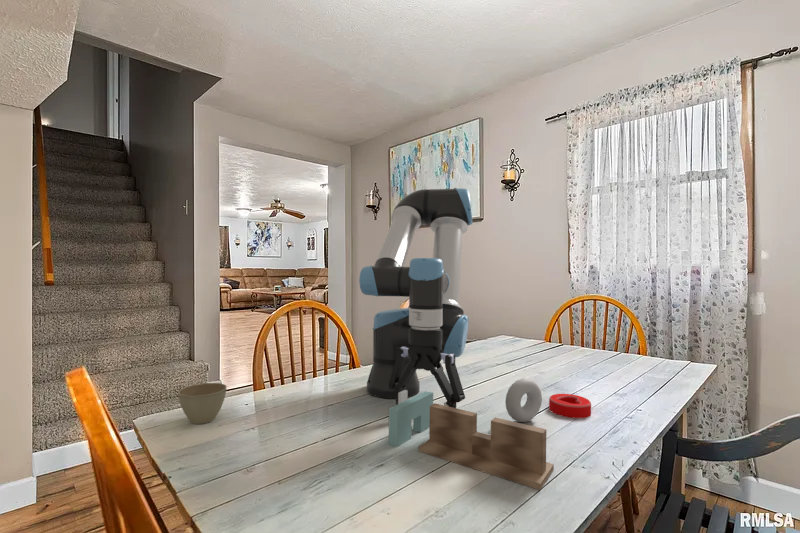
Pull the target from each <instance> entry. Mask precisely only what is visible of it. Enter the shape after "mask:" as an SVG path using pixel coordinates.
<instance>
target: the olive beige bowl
mask: <svg viewBox="0 0 800 533" xmlns="http://www.w3.org/2000/svg"><path fill="white" fill-rule="evenodd" d="M226 393H227V384H225V383H221V382H204V383H197V384H192V385H189V386H186V387H183V388H181V389H179V390H178V391H177V395H178V400H179V404H180V407H181V409H182V411H183V413H184V414H185V417H186V418H187V420H189V422H190V423H192V424H194V425H201V424H203V425H204V424H207V423H210V422H212V421H214V420H215V419H216V417H217V416H218V415H219V413H220V412H221V409H222V407H223V403H224V402H225V398H226Z"/></svg>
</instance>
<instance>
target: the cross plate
mask: <svg viewBox="0 0 800 533" xmlns="http://www.w3.org/2000/svg"><path fill="white" fill-rule="evenodd" d="M433 404H434V392H431V391H427V390H425V391H422V392H421V393H418V394H416V395H413V396H411V398H408V400H406V401H404V402H402V403H400V404H397V405H394V406H392V407H389V408H388V444H389V446H392V447H395V448H398V447H400V446H401V445H403V444H404V443H406V442H407V441H409V440H411V439H412V430H413V431H416V432H420V433H422V432H424V431H425V430H427V429H428V428H429V426H430V406H431V405H433ZM412 425H413V426H412Z"/></svg>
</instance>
